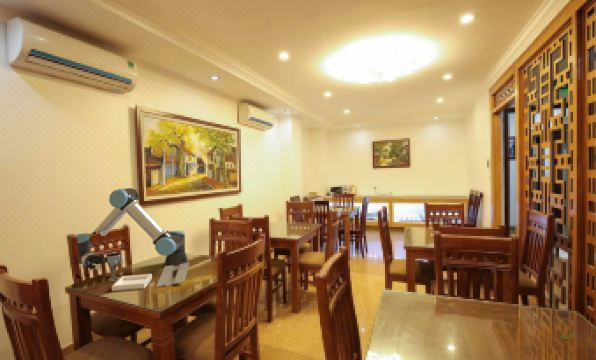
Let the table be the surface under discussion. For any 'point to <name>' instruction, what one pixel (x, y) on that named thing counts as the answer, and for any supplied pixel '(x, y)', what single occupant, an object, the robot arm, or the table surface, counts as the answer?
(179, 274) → the grey display stand
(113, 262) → the silver metal goblet
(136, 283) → the tray
